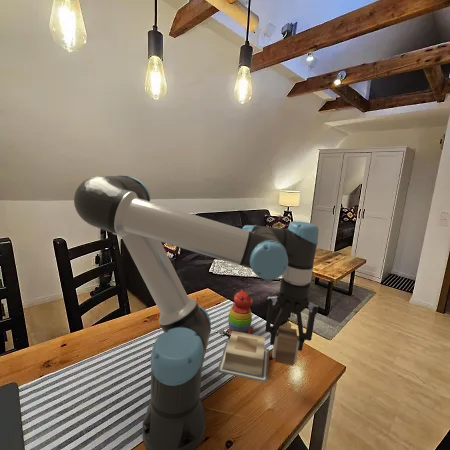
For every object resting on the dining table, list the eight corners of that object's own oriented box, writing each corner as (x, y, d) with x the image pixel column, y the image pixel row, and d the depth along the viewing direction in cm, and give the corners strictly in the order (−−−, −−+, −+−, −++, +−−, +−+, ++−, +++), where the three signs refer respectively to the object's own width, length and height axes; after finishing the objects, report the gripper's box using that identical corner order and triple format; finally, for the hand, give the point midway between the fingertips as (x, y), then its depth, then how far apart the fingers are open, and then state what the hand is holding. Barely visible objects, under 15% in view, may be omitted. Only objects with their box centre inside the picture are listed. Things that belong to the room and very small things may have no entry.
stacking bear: (250, 344, 96) (255, 300, 93) (224, 339, 98) (228, 296, 95) (253, 328, 107) (257, 288, 104) (229, 324, 109) (233, 285, 105)
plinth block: (261, 376, 80) (263, 359, 79) (224, 368, 83) (225, 351, 81) (263, 351, 92) (265, 336, 91) (230, 345, 94) (232, 330, 93)
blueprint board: (267, 384, 78) (267, 382, 78) (216, 372, 81) (216, 371, 81) (269, 350, 94) (269, 349, 94) (226, 342, 97) (226, 340, 96)
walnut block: (293, 366, 69) (297, 339, 68) (274, 361, 70) (278, 335, 69) (292, 354, 74) (296, 329, 73) (275, 350, 75) (278, 325, 74)
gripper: (328, 280, 70) (315, 355, 74) (262, 269, 73) (253, 342, 77) (334, 291, 63) (319, 373, 67) (261, 279, 66) (251, 358, 70)
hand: (284, 356), depth 72 cm, fingers closed on walnut block, 5 cm apart
